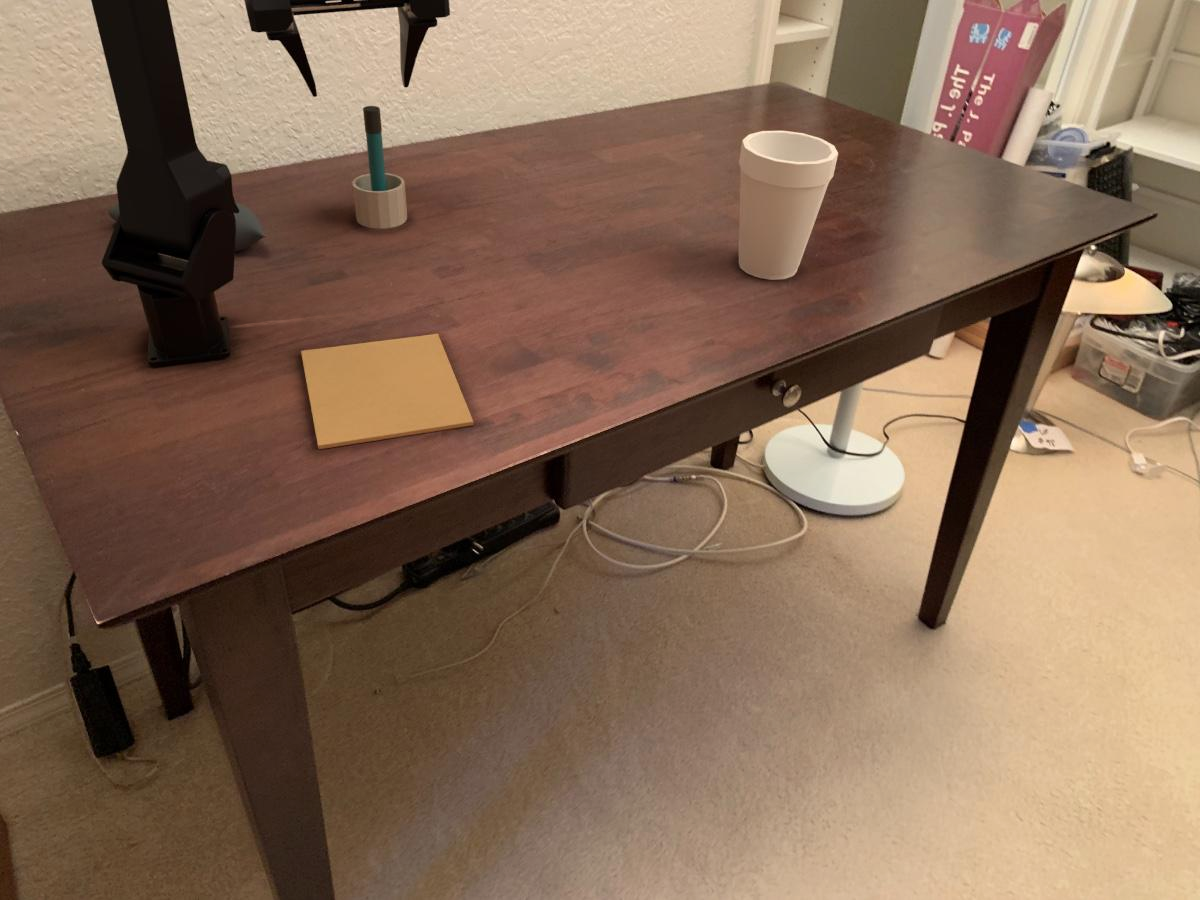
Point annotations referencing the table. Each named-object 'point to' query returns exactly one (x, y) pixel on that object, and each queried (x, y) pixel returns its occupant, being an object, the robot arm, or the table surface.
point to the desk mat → (382, 390)
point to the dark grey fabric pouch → (246, 226)
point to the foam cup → (780, 199)
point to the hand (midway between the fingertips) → (360, 90)
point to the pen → (375, 147)
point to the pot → (380, 202)
